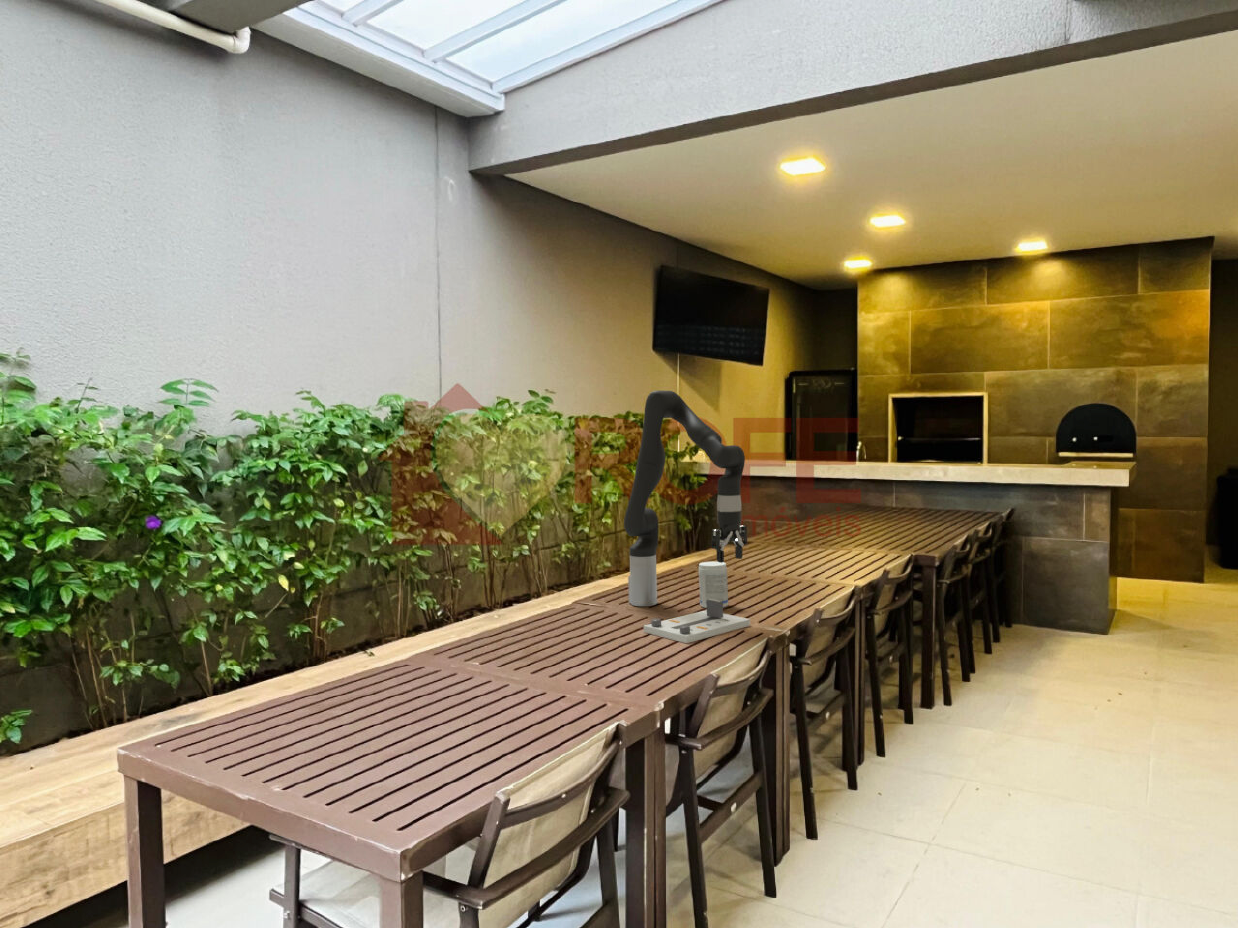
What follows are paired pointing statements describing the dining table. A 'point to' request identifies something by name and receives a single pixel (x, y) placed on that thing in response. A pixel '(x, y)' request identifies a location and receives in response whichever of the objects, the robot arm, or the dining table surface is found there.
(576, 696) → the dining table surface
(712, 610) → the fader tab
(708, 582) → the supplement tub
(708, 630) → the console board
